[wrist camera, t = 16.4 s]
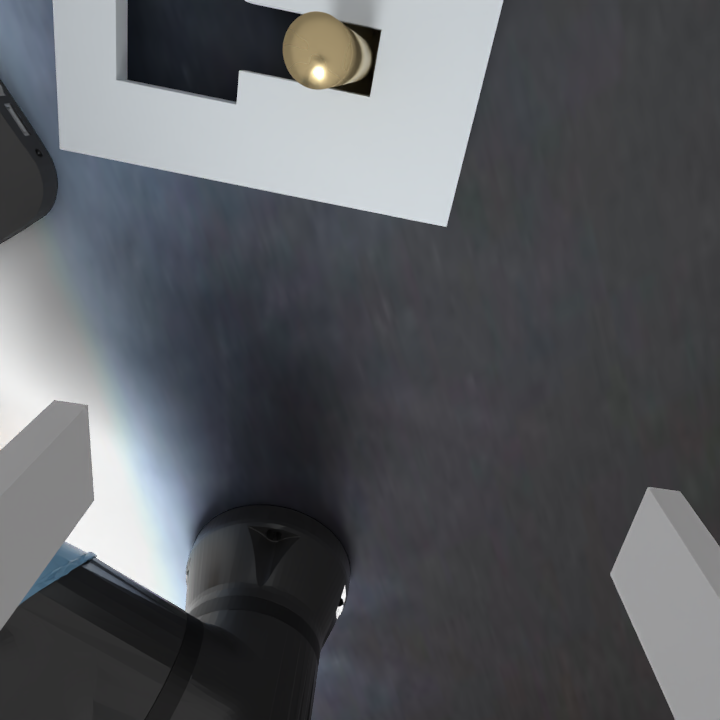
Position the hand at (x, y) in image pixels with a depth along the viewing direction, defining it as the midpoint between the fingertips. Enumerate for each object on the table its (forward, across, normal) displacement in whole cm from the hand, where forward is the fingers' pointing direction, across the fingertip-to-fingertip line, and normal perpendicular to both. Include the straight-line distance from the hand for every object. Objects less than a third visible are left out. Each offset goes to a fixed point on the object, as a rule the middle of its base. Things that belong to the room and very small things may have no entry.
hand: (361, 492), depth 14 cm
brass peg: (+29, +3, -10) cm, 31 cm away
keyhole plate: (+30, +8, -10) cm, 32 cm away
